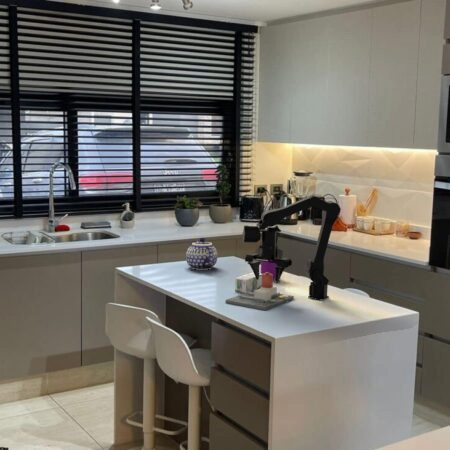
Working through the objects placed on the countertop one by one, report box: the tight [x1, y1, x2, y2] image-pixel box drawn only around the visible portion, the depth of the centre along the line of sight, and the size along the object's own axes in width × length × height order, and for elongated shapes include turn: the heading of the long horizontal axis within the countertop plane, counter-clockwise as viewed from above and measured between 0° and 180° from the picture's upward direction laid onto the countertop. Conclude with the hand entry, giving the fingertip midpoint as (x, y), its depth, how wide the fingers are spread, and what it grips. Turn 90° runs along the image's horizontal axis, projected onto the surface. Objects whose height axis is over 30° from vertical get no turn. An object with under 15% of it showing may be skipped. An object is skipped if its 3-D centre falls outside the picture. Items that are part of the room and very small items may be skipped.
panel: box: [225, 288, 295, 311], centre depth 277 cm, size 18×22×2 cm
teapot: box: [185, 237, 218, 271], centre depth 336 cm, size 25×15×15 cm, turn 20°
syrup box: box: [234, 271, 262, 294], centre depth 296 cm, size 6×6×14 cm
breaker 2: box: [259, 285, 278, 295], centre depth 281 cm, size 5×4×4 cm
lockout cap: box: [262, 272, 274, 288], centre depth 280 cm, size 4×4×6 cm
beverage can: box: [260, 258, 279, 281], centre depth 316 cm, size 8×8×12 cm
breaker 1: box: [254, 288, 271, 302], centre depth 274 cm, size 5×4×4 cm
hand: (267, 281), depth 280 cm, fingers open, 9 cm apart
